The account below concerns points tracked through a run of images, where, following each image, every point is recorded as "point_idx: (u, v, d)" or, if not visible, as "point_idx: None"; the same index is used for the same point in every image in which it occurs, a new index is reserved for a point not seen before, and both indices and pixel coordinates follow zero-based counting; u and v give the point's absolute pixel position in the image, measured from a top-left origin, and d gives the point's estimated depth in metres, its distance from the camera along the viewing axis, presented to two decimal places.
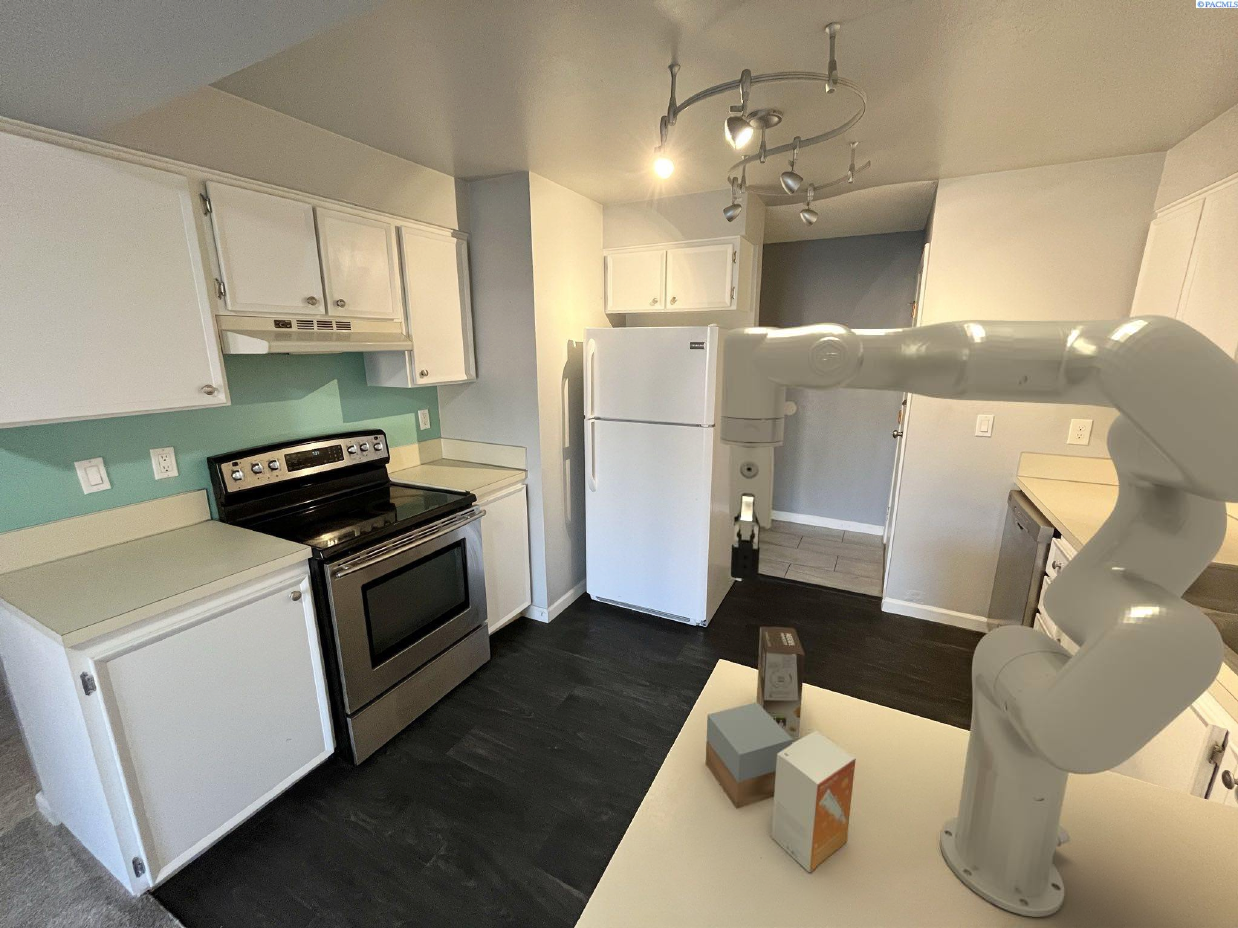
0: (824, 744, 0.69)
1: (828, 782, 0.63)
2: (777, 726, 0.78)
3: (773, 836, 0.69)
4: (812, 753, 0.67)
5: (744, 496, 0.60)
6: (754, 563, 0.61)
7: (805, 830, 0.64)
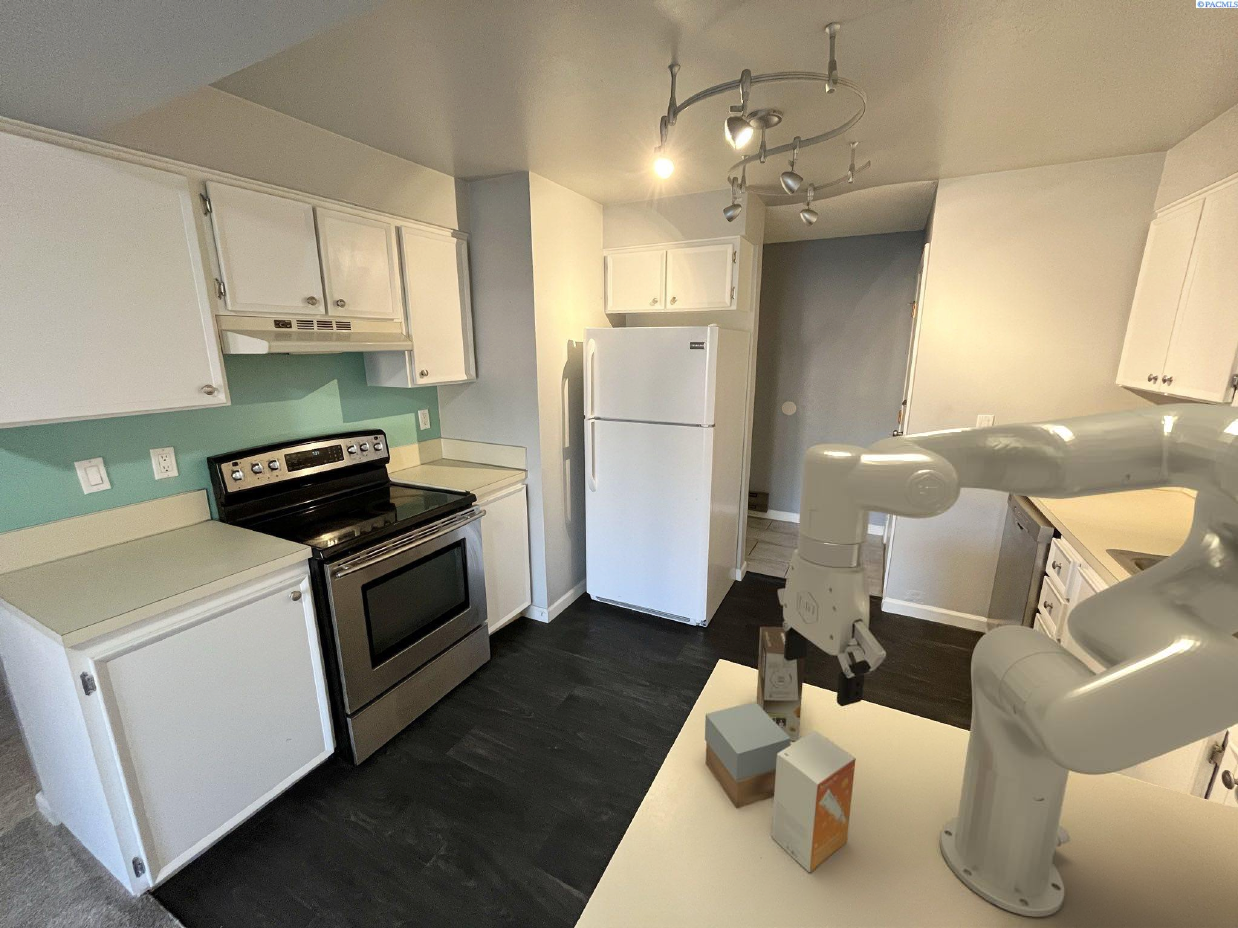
0: (824, 744, 0.69)
1: (828, 782, 0.63)
2: (775, 725, 0.78)
3: (773, 836, 0.69)
4: (812, 753, 0.67)
5: None
6: None
7: (805, 830, 0.64)
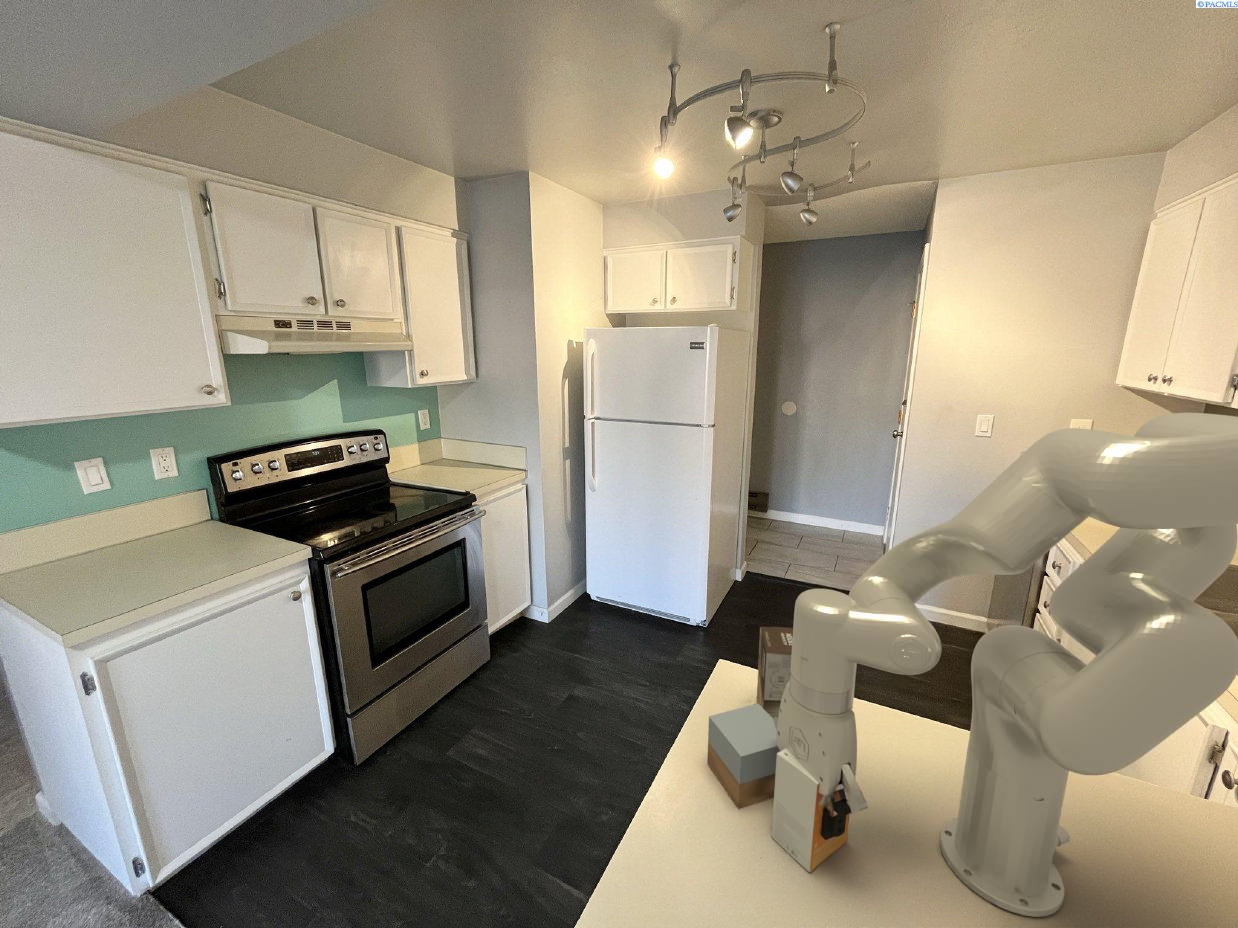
0: None
1: None
2: None
3: (773, 836, 0.69)
4: None
5: None
6: None
7: (805, 830, 0.64)
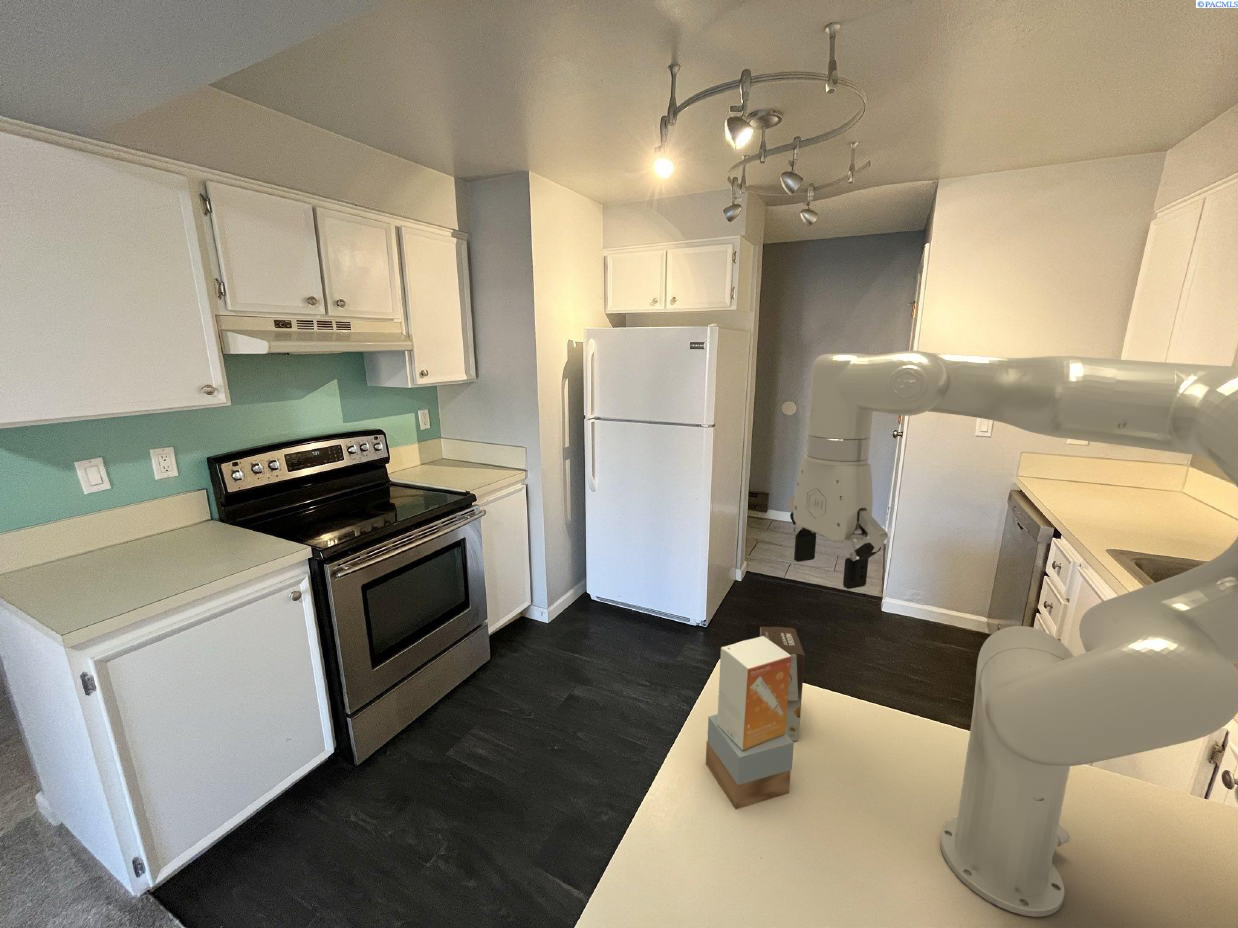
0: (766, 645, 0.77)
1: (760, 669, 0.72)
2: None
3: (718, 723, 0.78)
4: (753, 649, 0.75)
5: None
6: None
7: (739, 712, 0.73)
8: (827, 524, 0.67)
